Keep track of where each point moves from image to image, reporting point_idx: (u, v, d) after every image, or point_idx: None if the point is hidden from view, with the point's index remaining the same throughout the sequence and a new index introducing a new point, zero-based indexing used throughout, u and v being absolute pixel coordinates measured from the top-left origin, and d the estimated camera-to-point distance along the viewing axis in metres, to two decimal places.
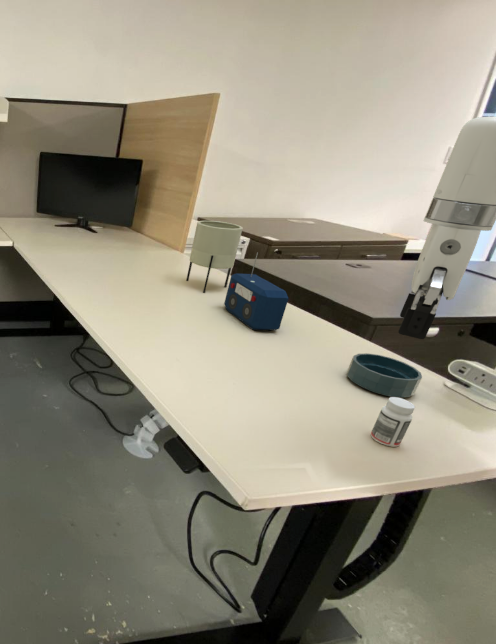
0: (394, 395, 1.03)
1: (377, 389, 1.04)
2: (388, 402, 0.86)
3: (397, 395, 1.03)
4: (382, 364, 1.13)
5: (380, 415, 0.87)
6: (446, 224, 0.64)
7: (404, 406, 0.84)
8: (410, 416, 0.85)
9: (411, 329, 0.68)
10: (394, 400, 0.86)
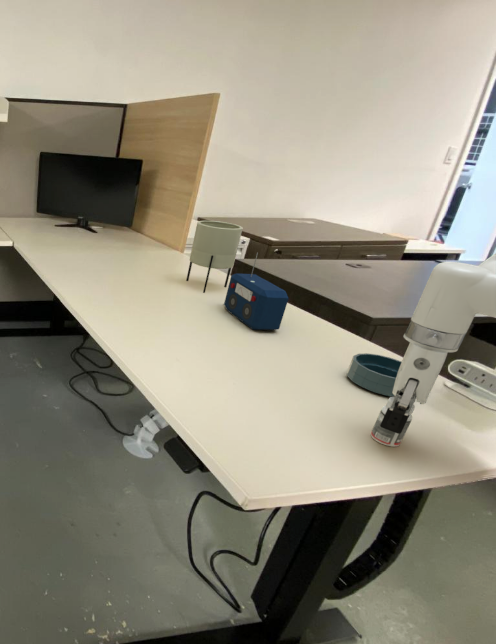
0: None
1: (377, 389, 1.04)
2: (388, 402, 0.86)
3: None
4: (382, 364, 1.13)
5: (380, 415, 0.87)
6: (419, 344, 0.79)
7: None
8: (410, 416, 0.85)
9: (389, 425, 0.84)
10: None
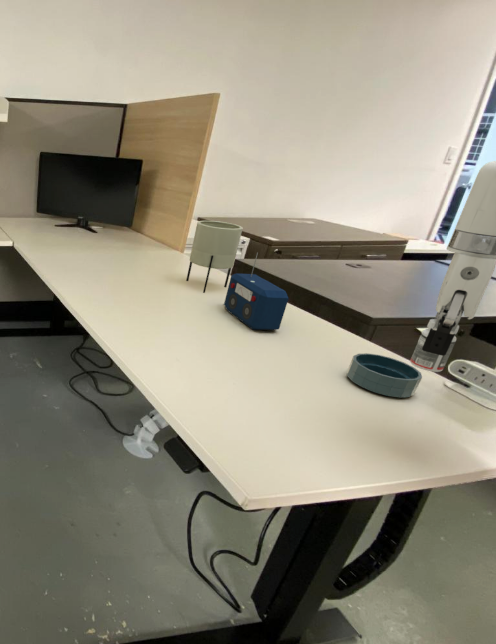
0: (394, 395, 1.03)
1: (377, 389, 1.04)
2: (430, 323, 0.80)
3: (397, 395, 1.03)
4: (382, 364, 1.13)
5: (421, 339, 0.81)
6: (466, 253, 0.73)
7: None
8: (454, 337, 0.79)
9: (433, 347, 0.79)
10: None
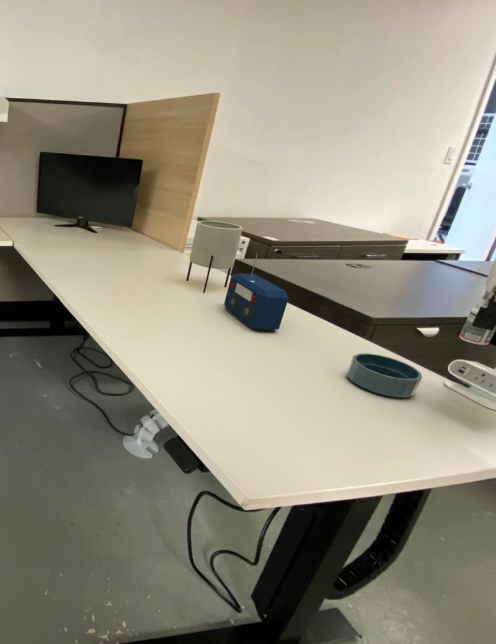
0: (394, 395, 1.03)
1: (377, 389, 1.04)
2: (479, 302, 0.92)
3: (397, 395, 1.03)
4: (382, 364, 1.13)
5: (470, 316, 0.93)
6: None
7: None
8: None
9: (482, 322, 0.91)
10: (484, 300, 0.92)
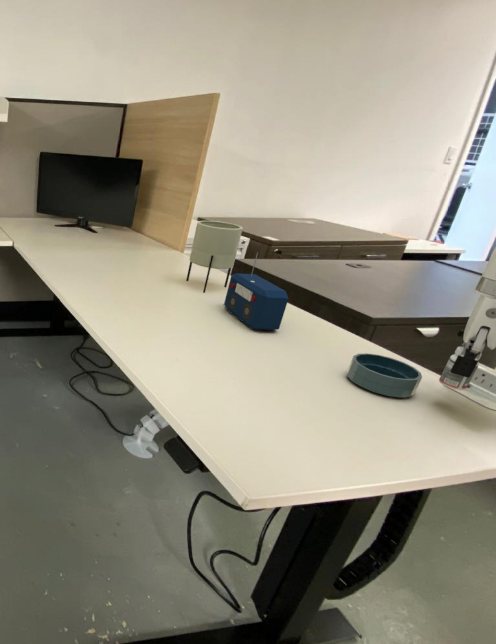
0: (394, 395, 1.03)
1: (377, 389, 1.04)
2: (457, 350, 0.98)
3: (397, 395, 1.03)
4: (382, 364, 1.13)
5: (449, 363, 0.99)
6: (490, 296, 0.90)
7: None
8: None
9: (460, 370, 0.96)
10: (462, 348, 0.98)
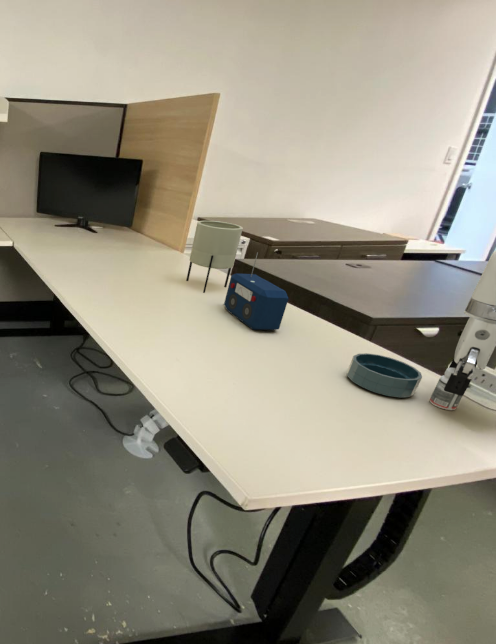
0: (394, 395, 1.03)
1: (377, 389, 1.04)
2: (446, 371, 1.00)
3: (397, 395, 1.03)
4: (382, 364, 1.13)
5: (439, 383, 1.01)
6: (480, 318, 0.92)
7: None
8: None
9: (453, 388, 0.96)
10: (452, 370, 1.00)
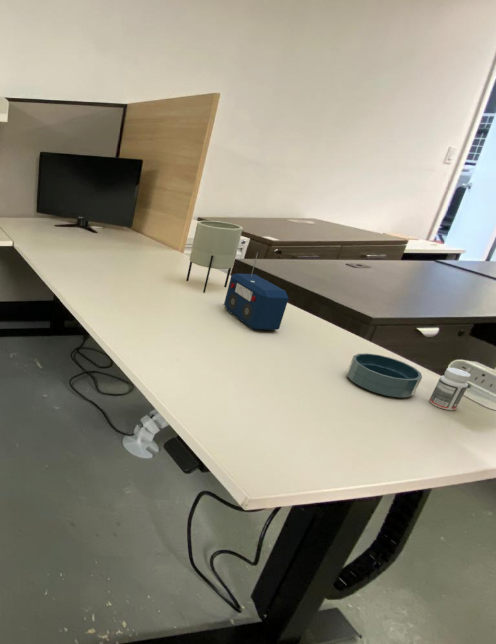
0: (394, 395, 1.03)
1: (377, 389, 1.04)
2: (446, 372, 1.00)
3: (397, 395, 1.03)
4: (382, 364, 1.13)
5: (439, 383, 1.01)
6: None
7: (461, 374, 0.98)
8: (466, 383, 0.99)
9: None
10: (452, 370, 1.00)
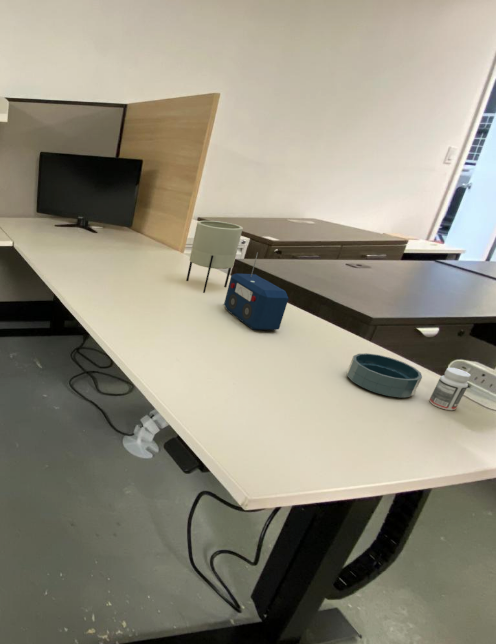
0: (394, 395, 1.03)
1: (377, 389, 1.04)
2: (446, 372, 1.00)
3: (397, 395, 1.03)
4: (382, 364, 1.13)
5: (439, 383, 1.01)
6: None
7: (461, 374, 0.98)
8: (466, 383, 0.99)
9: None
10: (452, 370, 1.00)
